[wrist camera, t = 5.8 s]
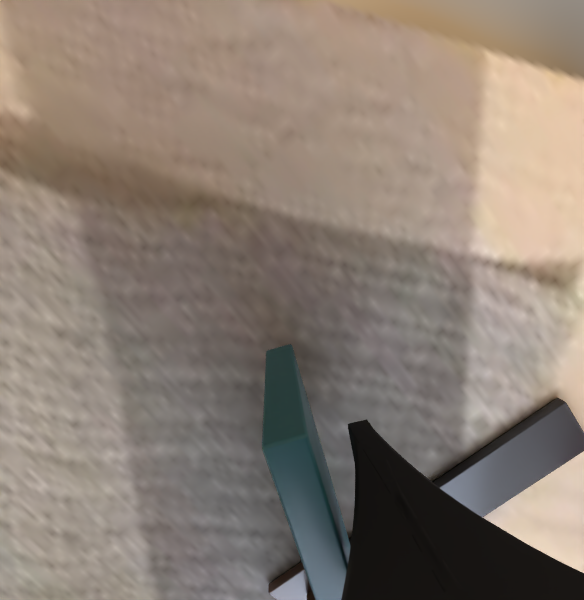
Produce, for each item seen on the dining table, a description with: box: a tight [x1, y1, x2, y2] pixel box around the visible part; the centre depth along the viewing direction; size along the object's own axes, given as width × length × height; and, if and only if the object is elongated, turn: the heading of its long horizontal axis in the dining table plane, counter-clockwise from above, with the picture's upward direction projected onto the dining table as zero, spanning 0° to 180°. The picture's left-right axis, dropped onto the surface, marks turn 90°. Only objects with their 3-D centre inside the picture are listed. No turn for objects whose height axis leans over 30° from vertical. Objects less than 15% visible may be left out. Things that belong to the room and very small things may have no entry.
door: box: [262, 344, 351, 600], centre depth 10 cm, size 12×1×5 cm, turn 15°
